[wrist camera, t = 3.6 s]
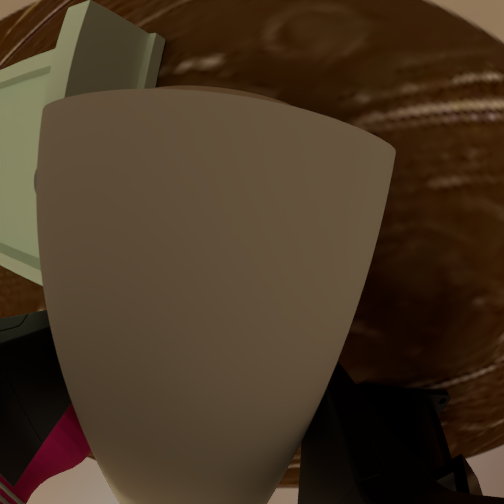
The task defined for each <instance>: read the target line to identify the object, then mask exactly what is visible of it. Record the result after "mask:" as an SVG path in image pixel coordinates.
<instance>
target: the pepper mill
mask: <svg viewBox="0 0 504 504" xmlns="http://www.w3.org/2000/svg"><path fill="white" fill-rule="evenodd" d="M90 452H91V448H90V446H89V444H88V441H87V439H86V437H85V435H84V432H83V430H82V427H81V425H80V422H79V420H78V417H77V415H76V412H75V409H74V407H73V404H71V405H70V406H69V408H68V409H67V410H66V412H65V413H64V415H63V416H62V417H61V419H60V420H59V422H58V423H57V424H56V426H55V427H54V429H53V430H52V431H51V433H50V434H49V436H48V437H47V439H46V440H45V441H44V443H42V446H41V447H40V449H39V450H38V452H37V453H36V455H35V456H34V458H33V459H32V461H31V462H30V464H29V465H28V467H27V468H26V470H25V471H24V473H23V474H22V476H21V477H20V479H19V481H18V482H17V484H16V485H15V486H14V487H12V486H11V485H10V484H9V483H8V482H7V481H6V480H5V479H3V478H2V477H1V476H0V504H26V503H27V501H28V499H29V498H30V496H31V494H32V493H33V492H34V490H35V489H36V488H37V487H38V486H39V485H40V484H41V483H43V482H44V481H45V480H47V479H48V478H50V477H52V476H54V475H56V474H59V473H61V472H64V471H66V470H69V469H71V468H73V467H75V466H76V465H78V464H79V463H81V462H82V461H83V460H84V459H85V458H86V457H87V456H88V455H89V454H90Z"/></svg>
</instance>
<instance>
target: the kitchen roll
mask: <svg viewBox="0 0 504 504" xmlns="http://www.w3.org/2000/svg"><path fill="white" fill-rule="evenodd" d="M395 154H396V151H395V149H394V148H393V147H392V146H391V145H390V144H389V143H387V142H385V141H384V140H382V139H381V138H379V137H377V136H375V135H373V134H371V133H369V132H367V131H364V130H362V129H360V128H358V127H355V126H353V125H350V124H347V123H345V122H342V121H340V120H337V119H334V118H331V117H328V116H325V115H322V114H318V113H315V112H312V111H308V110H305V109H301V108H298V107H294V106H291V105H289V104H287V103H284V102H282V101H279V100H276V99H273V98H270V97H266V96H263V95H259V94H254V93H250V92H245V91H240V90H234V89H227V88H219V87H209V86H165V87H157V88H152V89H122V90H109V91H100V92H92V93H85V94H80V95H75V96H70V97H66V98H62V99H59V100H56V101H53V102H51V103H49V104H47V105H45V106H44V108H43V111H42V118H41V126H40V135H39V145H38V159H37V183H36V209H37V233H38V247H39V258H40V267H41V275H42V283H43V289H44V296H45V302H46V307H47V313H48V318H49V323H50V327H51V332H52V336H53V340H54V344H55V348H56V352H57V356H58V360H59V363H60V367H61V370H62V374H63V377H64V380H65V383H66V386H67V390H68V393H69V395H70V398H71V401H72V404H73V407H74V409H75V412H76V415H77V417H78V420H79V422H80V425H81V427H82V430H83V432H84V435H85V437H86V439H87V441H88V444H89V446H90V448H91V450H92V453H93V455H94V457H95V459H96V461H97V463H98V465H99V467H100V469H101V471H102V473H103V475H104V477H105V479H106V480H107V482H108V484H109V486H110V488H111V489H112V491H113V493H114V495H115V496H116V498H117V500H118V501H119V503H120V504H267V503H268V501H269V499H270V497H271V496H272V494H273V493H274V491H275V489H276V488H277V486H278V484H279V482H280V481H281V479H282V477H283V475H284V474H285V472H286V470H287V468H288V466H289V464H290V463H291V461H292V459H293V457H294V455H295V453H296V451H297V449H298V447H299V445H300V443H301V442H302V440H303V438H304V436H305V433H306V431H307V429H308V427H309V425H310V423H311V421H312V419H313V417H314V415H315V412H316V410H317V408H318V406H319V404H320V401H321V399H322V397H323V395H324V392H325V390H326V388H327V385H328V383H329V381H330V378H331V376H332V373H333V371H334V368H335V366H336V364H337V361H338V358H339V356H340V353H341V351H342V348H343V345H344V343H345V340H346V337H347V335H348V332H349V329H350V326H351V323H352V321H353V318H354V315H355V312H356V309H357V306H358V303H359V300H360V297H361V293H362V290H363V287H364V284H365V281H366V277H367V274H368V270H369V267H370V264H371V260H372V256H373V253H374V249H375V245H376V242H377V238H378V234H379V230H380V226H381V222H382V218H383V213H384V209H385V205H386V200H387V195H388V191H389V186H390V181H391V176H392V170H393V165H394V159H395Z"/></svg>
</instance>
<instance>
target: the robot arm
mask: <svg viewBox="0 0 504 504" xmlns="http://www.w3.org/2000/svg"><path fill="white" fill-rule="evenodd" d="M362 392H365V393H362ZM449 400H450V396H449V394H448V392H447V391H437V390H421V389H408V388H398V387H388V386H379V385H371V384H361V385H358V386H357V385H356V384H355V383H354V381H353V380H352V379H351V377H350V376H349V375H348V373H347V372H346V371H345V370H344V368H343V367H342V366H341V364H340V363H339V362H338V361H337V364H336V366H335V368H334V371H333V373H332V376H331V378H330V381H329V383H328V385H327V388H326V390H325V392H324V395H323V397H322V399H321V401H320V404H319V406H318V408H317V410H316V412H315V415H314V417H313V419H312V421H311V423H310V425H309V427H308V429H307V431H306V433H305V436H304V438H303V440H302V445H301V463H300V479H299V493H298V504H504V498H501V497H491V496H483V494H482V491H481V488H480V485H479V481H478V479H477V477H476V475H475V474H474V472H473V470H472V469H471V467H470V466H469V464H468V463H467V461H466V459H465V458H464V456H463V455H462V454H460V455H458V456H457V457H455V458H453V459H452V458H451V455H450V451H449V448H448V445H447V442H446V438H445V435H444V432H443V429H442V426H441V423H440V420H439V417H438V416H439V414H440V413H441V412H442V410H443V409H444V407H445V406H446V404H447V403H448V402H449ZM71 404H72V401H71V398H70V395H69V393H68V390H67V386H66V383H65V380H64V377H63V374H62V370H61V367H60V363H59V360H58V356H57V352H56V348H55V344H54V340H53V336H52V332H51V327H50V323H49V318H48V313H47V310H44V311H39V312H34V313H29V315H28V314H23V315H18V316H12V317H6V318H0V476H1V477H2V478H3V479H5V480H6V481H7V482H8V483H9V484H10V485H11V486H12V487H14V486H15V485H16V484H17V482H18V481H19V479H20V477H21V476H22V474H23V473H24V471H25V470H26V468H27V467H28V465H29V464H30V462H31V461H32V459H33V458H34V456H35V455H36V453H37V452H38V450H39V449H40V447H41V446H42V443H44V441H45V440H46V439H47V437H48V436H49V434H50V433H51V431H52V430H53V429H54V427H55V426H56V424H57V423H58V422H59V420H60V419H61V417H62V416H63V415H64V413H65V412H66V410H67V409H68V408H69V406H70V405H71Z"/></svg>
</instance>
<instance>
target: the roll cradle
mask: <svg viewBox="0 0 504 504" xmlns="http://www.w3.org/2000/svg"><path fill="white" fill-rule="evenodd" d="M165 40H166V39H164V38H163V37H161V36H160V35H158V34H157V33H152V34H148V33H147V32H145V31H144V30H142V29H140V28H139V27H137V26H136V25H134V24H132V23H131V22H129V21H127V20H126V19H124V18H122V17H120V16H119V15H117V14H115V13H114V12H112V11H110V10H108V9H106V8H105V7H103V6H101V5H99V4H97V3H95V2H93V1H92V0H89V1H86V2H83V3H80V4H77V5H75V6H72V7H69V8H68V10H67V13H66V16H65V19H64V22H63V25H62V28H61V32H60V35H59V38H58V42H57V45H56V49H53V50H50V51H47V52H44V53H41V54H39V55H36V56H33V57H31V58H28V59H26V60H23V61H21V62H18V63H16V64H14V65H11V66H9V67H7V68H4V69H2V70H0V265H1V266H3V267H5V268H7V269H9V270H11V271H13V272H15V273H17V274H19V275H21V276H23V277H25V278H27V279H29V280H31V281H33V282H35V283H38V284H40V285H42V286H43V283H42V275H41V267H40V258H39V247H38V233H37V209H36V183H37V159H38V145H39V135H40V126H41V118H42V111H43V108H44V106H45V105H47V104H49V103H51V102H53V101H56V100H59V99H62V98H66V97H70V96H75V95H80V94H85V93H92V92H100V91H109V90H122V89H152V88H155V87H156V82H157V77H158V72H159V67H160V62H161V58H162V53H163V49H164V44H165Z"/></svg>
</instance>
